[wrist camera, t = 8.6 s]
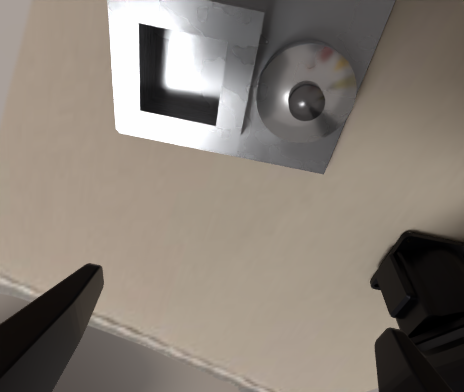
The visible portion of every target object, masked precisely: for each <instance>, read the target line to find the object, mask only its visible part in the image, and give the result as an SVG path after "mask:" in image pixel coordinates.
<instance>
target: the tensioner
mask: <svg viewBox="0 0 464 392" xmlns="http://www.w3.org/2000/svg"><path fill="white" fill-rule="evenodd" d="M107 1H108V16H109V31H110V47H111V62H112V77H113V92H114V107H115V122H116V130H118V133H122V134H127V135H132V136H137V137H142V138H147V139H152V140H157V141H162V142H167V143H171V144H176V145H181V146H186V147H191V148H196V149H201V150H206V151H211V152H216V153H221V154H226V155H231V156H236V157H241V158H246V159H251V160H256V161H261V162H266V163H271V164H275V165H280V166H285V167H290V168H295V169H300V170H305V171H310V172H315V173H320V174H324V172H325V170H326V168H327V165H328V163H329V160H330V158H331V155H332V153H333V151H334V148H335V146H336V143H337V141H338V138H339V136H340V134H341V131H342V129H343V126H344V124H345V122H346V119H347V117H348V116H349V114H350V112H351V110H352V108H353V105H354V102H355V98H356V95H357V92H358V90H359V88H360V85H361V83H362V80H363V78H364V75H365V73H366V71H367V68H368V66H369V63H370V61H371V58H372V56H373V54H374V51H375V49H376V46H377V44H378V42H379V39H380V37H381V34H382V32H383V29H384V27H385V25H386V22H387V20H388V17H389V15H390V12H391V10H392V8H393V5H394V3H395V0H107Z"/></svg>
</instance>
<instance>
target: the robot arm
mask: <svg viewBox="0 0 464 392" xmlns="http://www.w3.org/2000/svg"><path fill="white" fill-rule="evenodd" d="M409 238H410V239H409ZM407 239H408V240H407ZM370 284H371V287H372V288H373V289H377V290H381V292H382V295H383V297H384V300H385V303H386V306H387V308H388V311H389V314H390V315H391V317H393V318H396V320H397V323H398V326H399V328H400V330H399V329H395V328H387V329H386V330H385V331H384V332H383V333H382V334H381V335H380V337H379V338H378V339H377V340H376V342H375V357H376V367H377V377H378V388H379V392H464V243H460V242H455V241H450V240H445V239H440V238H435V237H430V236H425V235H420V234H415V233H409V232H408V233H405V234H403V235H402V236H401V237H400V239H399V240H398V242H397V243H396V245H395V246H394V247H393V249H392V250H391V252H390V253H389V255H388V256H387V257H386V259H385V260H384V261H383V263H382V264H381V266H380V267H379V269H378V270H377V271H376V273H375V275H374V276H373V278H372V279H371V281H370ZM103 285H104V279H103V269H102V267H101V266H100V265H96V264H91V263H88V264H86V265H84V266H83V267H81V268H80V269H78V270H77V271H76V272H74V273H73V274H71V275H70V276H68V277H67V278H66V279H64V280H63V281H61V282H60V283H58V284H57V285H56V286H54V287H53V288H51V289H50V290H48V291H47V292H45V293H44V294H43V295H41V296H40V297H38V298H37V299H35V300H34V301H33V302H31V303H30V304H29V305H27V306H25V307H24V308H23V309H21V310H20V311H18V312H17V313H15V314H14V315H13V316H11V317H10V318H8V319H7V320H5V321H4V322H2V323H1V324H0V392H52V391H53V389H54V387H55V385H56V384H57V382H58V380H59V378H60V376H61V375H62V373H63V371H64V369H65V367H66V365H67V364H68V362H69V360H70V358H71V356H72V355H73V353H74V351H75V349H76V348H77V346H78V344H79V342H80V340H81V338H82V336H83V334H84V331H85V329H86V327H87V324H88V322H89V320H90V317H91V315H92V313H93V310H94V308H95V305H96V303H97V301H98V298H99V296H100V294H101V291H102V289H103Z"/></svg>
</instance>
